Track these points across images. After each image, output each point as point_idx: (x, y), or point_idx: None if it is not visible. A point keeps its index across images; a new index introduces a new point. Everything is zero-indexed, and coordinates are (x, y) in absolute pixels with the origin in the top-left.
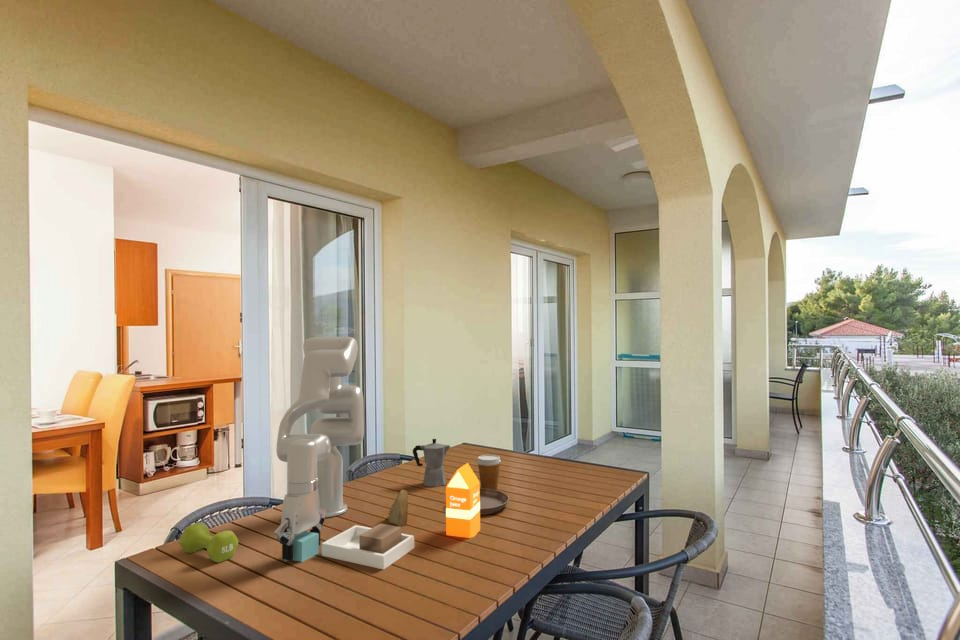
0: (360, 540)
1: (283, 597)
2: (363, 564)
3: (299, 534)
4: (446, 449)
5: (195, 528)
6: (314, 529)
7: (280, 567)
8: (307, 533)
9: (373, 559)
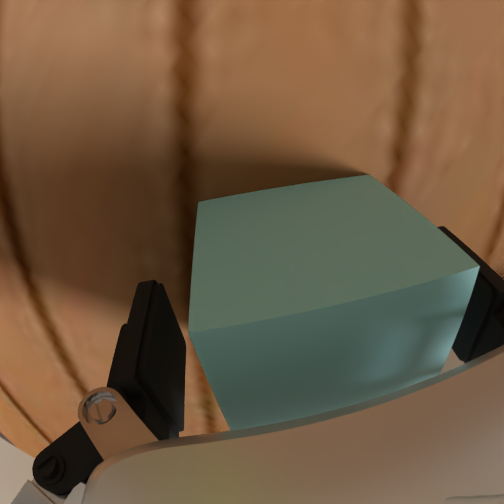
0: None
1: (68, 428)
2: None
3: (369, 355)
4: None
5: None
6: (489, 339)
7: (128, 264)
8: (411, 373)
9: None
